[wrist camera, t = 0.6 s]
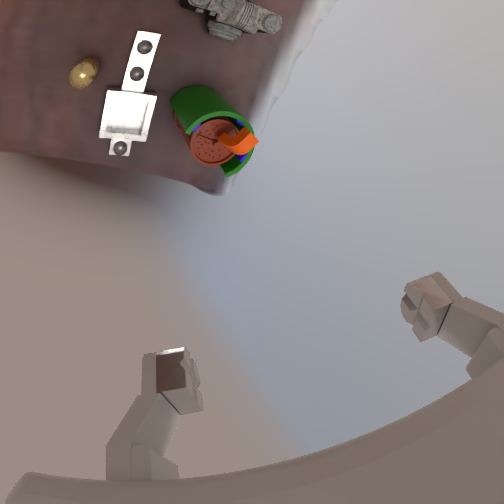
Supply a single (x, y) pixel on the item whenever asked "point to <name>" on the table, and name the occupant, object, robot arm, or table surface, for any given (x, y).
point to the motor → (213, 128)
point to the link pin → (84, 72)
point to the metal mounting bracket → (131, 99)
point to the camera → (234, 17)
